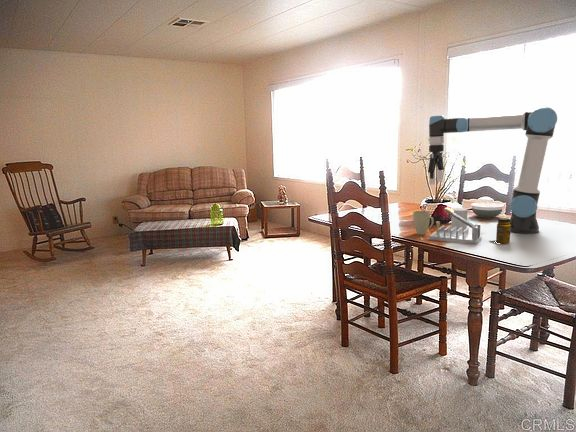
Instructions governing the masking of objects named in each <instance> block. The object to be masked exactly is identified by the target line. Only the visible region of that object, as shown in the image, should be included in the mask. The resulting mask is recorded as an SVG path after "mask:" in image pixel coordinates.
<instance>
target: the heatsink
mask: <svg viewBox="0 0 576 432" xmlns="http://www.w3.org/2000/svg"><path fill="white" fill-rule="evenodd" d="M435 225H436V228H435V229H436V230H435V231H433V233H431V234H429V235H428V240H431V241H437V242H438V241H439V242H447V243H458V244H468V245H478V244H479V243H480V241H481V240H482V238H483V236H482V234H481V224H476V223H475V224H474V225H475V226H479V227H480V229H479V230H478V227H472V228H471V232H472V233H469V230H470V229H469V228H470V227H469V226H467V228H466V229H465V230H464V231H463V232H462V227H460V228H459V229H458V230H457V231H456V226H455V227H454V228H452V229H451V225H448V226H447V227H446V228H445V225H442V226H441V221H435Z"/></svg>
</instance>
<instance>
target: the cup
mask: <svg viewBox="0 0 576 432" xmlns="http://www.w3.org/2000/svg"><path fill="white" fill-rule="evenodd" d="M451 209H452V210H453V211H454V213H456V214H457V215H459V216H461V217H462V218H464V219H465V220H467V221H468V208H463V207H454V208H451ZM450 216H451V215H450ZM450 219H451V220H450V223H451V224H450V226H451V227H450V230H451V229H452V228H454V227H455V226H456V231H457V230H458V229H459V228H460V227H462V233H463V231H464V230H465V229H466V228H467V227H468V226H467V225H466V224H464V223H463V222H461V221H459V220H458V219H456V218H455V217H453V216H451V218H450Z"/></svg>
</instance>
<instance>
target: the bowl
mask: <svg viewBox="0 0 576 432" xmlns="http://www.w3.org/2000/svg"><path fill="white" fill-rule="evenodd" d="M470 205H471V210H472V212H473V213H474V215H476V216H477V217H478V218H480V219H489V220H491V219H494V218H496V217H498V216H500V215H501V214H502V212H503V208H504V207H505V205H504V204H503V203H500V202H499V203H498V202H493V201H492V202H490V201H485V202H484V201H482V202H481V201H479V202H478V201H477V202H472V203H471V204H470Z"/></svg>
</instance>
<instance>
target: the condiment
mask: <svg viewBox="0 0 576 432" xmlns="http://www.w3.org/2000/svg"><path fill="white" fill-rule="evenodd" d="M510 230H511V225H510V218H507V217H500V218H498V219H497V224H496V234H495V236H496V237H495V238H496V239H495V240H488V242H490V243H492V244H494V245H498V246H502V245H512V243H513V242H510V241H511V231H510ZM495 241H496V242H497V243H500V244H497V243H496V242H495ZM494 242H495V243H494ZM509 243H511V244H509Z"/></svg>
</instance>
